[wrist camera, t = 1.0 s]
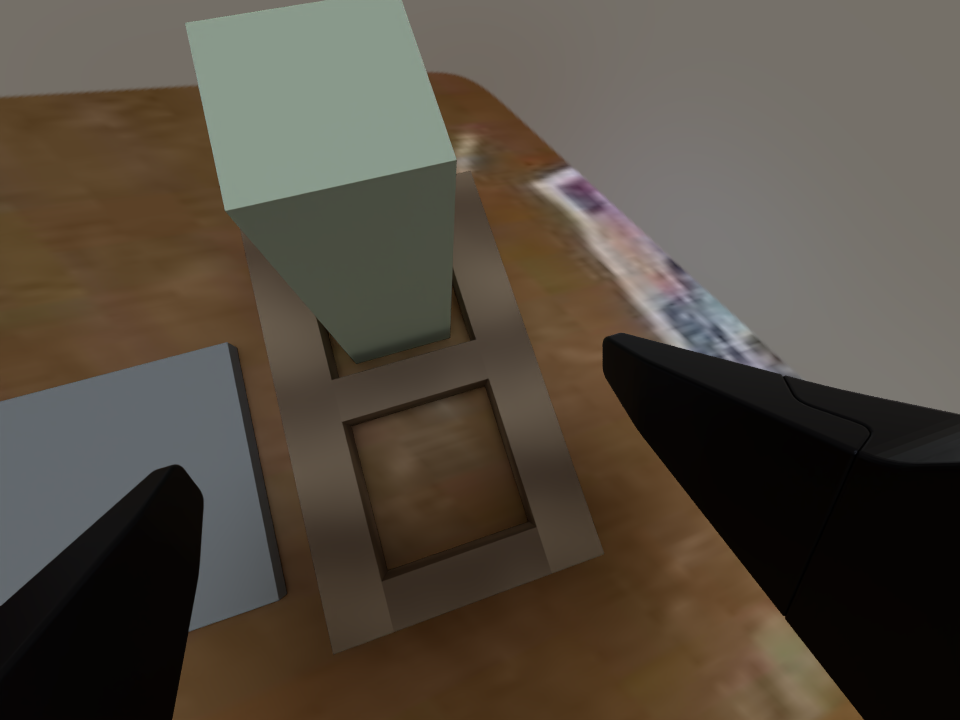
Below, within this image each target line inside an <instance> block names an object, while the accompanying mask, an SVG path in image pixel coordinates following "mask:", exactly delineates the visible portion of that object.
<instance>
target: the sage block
mask: <svg viewBox="0 0 960 720" xmlns="http://www.w3.org/2000/svg"><path fill="white" fill-rule="evenodd" d="M185 24H186V29H187V34H188V39H189V43H190V48H191V52H192V57H193V62H194V66H195V71H196V76H197V81H198V85H199V90H200V95H201V100H202V104H203V109H204V114H205V118H206V123H207V128H208V132H209V137H210V142H211V147H212V151H213V156H214V161H215V165H216V170H217V175H218V179H219V184H220V189H221V193H222V198H223V203H224V208H225V211H226V212H227V214H228V215H229V216H230V217H231V218H232V219H233V221H234V222H235V223H236V224H237V225H238V226H239V228H240V229H241V230H242V231H243V232H244V233H245V235H246V236H247V237H248V238H249V239H250V240H251V242H252V243H253V244H254V245H255V246H256V247H257V249H258V250H259V251H260V252H261V253H262V254H263V256H264V257H265V258H266V259H267V260H268V261H269V263H270V264H271V265H272V266H273V267H274V268H275V270H276V271H277V272H278V273H279V274H280V275H281V277H282V278H283V279H284V280H285V281H286V282H287V284H288V285H289V286H290V287H291V288H292V289H293V291H294V292H295V293H296V294H297V295H298V296H299V298H300V299H301V300H302V301H303V302H304V303H305V305H306V306H307V307H308V308H309V309H310V310H311V312H312V313H313V314H314V315H315V316H316V317H317V319H318V320H319V321H320V322H321V323H322V324H323V326H324V327H325V328H326V329H327V330H328V331H329V333H330V334H331V335H332V336H333V337H334V338H335V340H336V341H337V342H338V343H339V344H340V345H341V347H342V348H343V349H344V350H345V351H346V352H347V354H348V355H349V356H350V357H351V358H352V359H353V361H354V362H355V363H356V364H358V363H361V362H365V361H368V360H372V359H376V358H379V357H383V356H386V355H390V354H394V353H397V352H401V351H404V350H408V349H411V348H415V347H419V346H422V345H426V344H429V343H433V342H436V341H440V340H444V339H447V338H450V322H451V295H452V269H453V242H454V215H455V189H456V162H457V160H456V157H455V154H454V151H453V148H452V145H451V142H450V139H449V136H448V133H447V131H446V128H445V125H444V122H443V119H442V116H441V113H440V110H439V107H438V104H437V102H436V99H435V96H434V93H433V90H432V87H431V84H430V81H429V78H428V75H427V72H426V70H425V67H424V64H423V61H422V58H421V55H420V53H419V49H418V46H417V44H416V41H415V38H414V35H413V32H412V29H411V26H410V23H409V20H408V17H407V14H406V12H405V9H404V6H403V3H402V0H325V1H319V2H313V3H307V4H301V5H294V6H288V7H282V8H276V9H270V10H263V11H257V12H250V13H244V14H238V15H232V16H226V17H219V18H213V19H207V20H201V21H194V22H188V23H185Z"/></svg>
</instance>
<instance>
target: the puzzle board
mask: <svg viewBox="0 0 960 720" xmlns="http://www.w3.org/2000/svg"><path fill="white" fill-rule="evenodd" d="M240 231H241V236H242V240H243V245H244V249H245V254H246V258H247V263H248V268H249V272H250V277H251V281H252V286H253V290H254V295H255V299H256V304H257V309H258V313H259V318H260V322H261V327H262V331H263V336H264V341H265V345H266V350H267V354H268V359H269V363H270V368H271V373H272V377H273V382H274V386H275V391H276V395H277V400H278V405H279V409H280V414H281V418H282V423H283V427H284V432H285V436H286V441H287V446H288V450H289V455H290V459H291V464H292V468H293V473H294V478H295V482H296V487H297V491H298V496H299V500H300V505H301V510H302V514H303V519H304V523H305V528H306V532H307V537H308V542H309V546H310V551H311V555H312V560H313V564H314V569H315V573H316V578H317V583H318V587H319V592H320V596H321V601H322V605H323V610H324V615H325V619H326V624H327V628H328V633H329V637H330V642H331V647H332V651H333V655H334V654H336V653H339V652H342V651H344V650H347V649H350V648H352V647H355V646H358V645H360V644H363V643H366V642H369V641H371V640H374V639H377V638H379V637H382V636H385V635H387V634H390V633H393V632H396V631H398V630H401V629H404V628H406V627H409V626H412V625H414V624H417V623H420V622H423V621H425V620H428V619H431V618H433V617H436V616H439V615H441V614H444V613H447V612H449V611H452V610H455V609H458V608H460V607H463V606H466V605H468V604H471V603H474V602H476V601H479V600H482V599H485V598H487V597H490V596H493V595H495V594H498V593H501V592H503V591H506V590H509V589H512V588H514V587H517V586H520V585H522V584H525V583H528V582H530V581H533V580H536V579H539V578H541V577H544V576H547V575H549V574H552V573H555V572H557V571H560V570H563V569H565V568H568V567H571V566H574V565H576V564H579V563H582V562H584V561H587V560H590V559H592V558H595V557H598V556H601V555H603V554H604V552H603V549H602V546H601V543H600V540H599V537H598V534H597V532H596V529H595V526H594V523H593V520H592V517H591V514H590V511H589V509H588V506H587V503H586V500H585V497H584V494H583V491H582V489H581V486H580V483H579V480H578V477H577V474H576V471H575V469H574V466H573V463H572V460H571V457H570V454H569V451H568V449H567V446H566V443H565V440H564V437H563V434H562V431H561V429H560V426H559V423H558V420H557V417H556V414H555V411H554V409H553V406H552V403H551V400H550V397H549V394H548V391H547V389H546V386H545V383H544V380H543V377H542V374H541V371H540V368H539V366H538V363H537V360H536V357H535V354H534V351H533V348H532V346H531V343H530V340H529V337H528V334H527V331H526V328H525V326H524V323H523V320H522V317H521V314H520V311H519V308H518V306H517V303H516V300H515V297H514V294H513V291H512V288H511V286H510V283H509V280H508V277H507V274H506V271H505V268H504V266H503V263H502V260H501V257H500V254H499V251H498V248H497V246H496V243H495V240H494V237H493V234H492V231H491V228H490V226H489V223H488V220H487V217H486V214H485V211H484V208H483V205H482V203H481V200H480V197H479V194H478V191H477V188H476V185H475V183H474V180H473V177H472V174H471V171H467V172H463V173H459V174H456V189H455V215H454V242H453V269H452V284H453V287H454V291H455V294H456V297H457V300H458V303H459V306H460V309H461V312H462V316H463V319H464V322H465V325H466V328H467V331H468V334H469V337H470V340H471V341H469V342H465V343H462V344H458V345H455V346H451V347H447V348H444V349H440V350H437V351H433V352H430V353H426V354H423V355H419V356H416V357H412V358H409V359H405V360H401V361H398V362H394V363H391V364H387V365H384V366H380V367H377V368H373V369H370V370H366V371H363V372H359V373H355V374H352V375H348V376H345V377H341V378H339V376H338V372H337V368H336V364H335V360H334V356H333V352H332V348H331V344H330V340H329V336H328V332H327V329H326V328H325V327H324V326H323V324H322V323H321V322H320V321H319V320H318V319H317V317H316V316H315V315H314V314H313V313H312V312H311V310H310V309H309V308H308V307H307V306H306V305H305V303H304V302H303V301H302V300H301V299H300V298H299V296H298V295H297V294H296V293H295V292H294V291H293V289H292V288H291V287H290V286H289V285H288V284H287V282H286V281H285V280H284V279H283V278H282V277H281V275H280V274H279V273H278V272H277V271H276V270H275V268H274V267H273V266H272V265H271V264H270V263H269V261H268V260H267V259H266V258H265V257H264V256H263V254H262V253H261V252H260V251H259V250H258V249H257V247H256V246H255V245H254V244H253V243H252V242H251V240H250V239H249V238H248V237H247V236H246V235H245V233H244V232H243V231H242V230H241V229H240ZM483 386H485V387H486V390H487V394H488V397H489V400H490V403H491V406H492V409H493V412H494V415H495V419H496V422H497V425H498V428H499V431H500V434H501V437H502V440H503V443H504V447H505V450H506V453H507V456H508V459H509V462H510V465H511V468H512V472H513V475H514V478H515V481H516V484H517V487H518V490H519V493H520V497H521V500H522V503H523V506H524V509H525V512H526V515H527V518H528V521H529V522H526V523H523V524H520V525H518V526H515V527H512V528H509V529H506V530H503V531H500V532H498V533H495V534H492V535H489V536H486V537H483V538H480V539H478V540H475V541H472V542H469V543H466V544H463V545H460V546H458V547H455V548H452V549H449V550H446V551H443V552H440V553H438V554H435V555H432V556H429V557H426V558H423V559H420V560H418V561H415V562H412V563H409V564H406V565H403V566H400V567H398V568H395V569H392V570H389V571H387V567H386V563H385V559H384V555H383V551H382V547H381V543H380V539H379V535H378V531H377V527H376V523H375V519H374V515H373V511H372V507H371V503H370V499H369V495H368V491H367V487H366V483H365V479H364V476H363V472H362V468H361V464H360V460H359V456H358V452H357V448H356V444H355V440H354V436H353V432H352V428H351V426H352V425H356V424H359V423H362V422H366V421H369V420H372V419H376V418H379V417H382V416H386V415H389V414H392V413H396V412H399V411H402V410H406V409H409V408H412V407H416V406H419V405H422V404H426V403H429V402H433V401H436V400H439V399H443V398H446V397H449V396H453V395H456V394H459V393H463V392H466V391H469V390H473V389H476V388H479V387H483Z"/></svg>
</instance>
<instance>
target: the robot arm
mask: <svg viewBox="0 0 960 720" xmlns="http://www.w3.org/2000/svg"><path fill="white" fill-rule="evenodd" d="M603 372H604V375H605V378H606V379H607V381H608V383H609V384H610V386H611V388H612V389H613V391H614V392H615V394H616V396H617V397H618V399H619V401H620V402H621V404H622V406H623V407H624V409H625V411H626V412H627V414H628V415H629V417H630V419H631V420H632V422H633V423H634V425H635V427H636V428H637V430H638V431H639V432H640V434H641V435H642V436H643V438H644V439H645V440H646V441H647V443H648V444H649V445H650V447H651V448H652V449H653V450H654V452H655V453H656V454H657V455H658V457H659V458H660V459H661V461H662V462H663V463H664V464H665V466H666V467H667V468H668V470H669V471H670V472H671V473H672V475H673V476H674V477H675V478H676V480H677V481H678V482H679V484H680V485H681V486H682V487H683V489H684V490H685V491H686V493H687V494H688V495H689V496H690V498H691V499H692V500H693V501H694V503H695V504H696V505H697V507H698V508H699V509H700V510H701V512H702V513H703V514H704V516H705V517H706V518H707V519H708V521H709V522H710V523H711V524H712V526H713V527H714V528H715V530H716V531H717V532H718V533H719V535H720V536H721V537H722V538H723V540H724V541H725V542H726V544H727V545H728V546H729V547H730V549H731V550H732V551H733V553H734V554H735V555H736V556H737V558H738V559H739V560H740V561H741V563H742V564H743V565H744V567H745V568H746V569H747V570H748V572H749V573H750V574H751V576H752V577H753V578H754V579H755V581H756V582H757V583H758V584H759V586H760V587H761V588H762V590H763V591H764V592H765V593H766V595H767V596H768V597H769V598H770V600H771V601H772V602H773V604H774V605H775V606H776V607H777V609H778V610H779V611H780V613H781V614H782V615H783V616H785V619H786V621H787V622H788V623H789V625H790V626H791V627H792V628H793V630H794V631H795V632H796V633H797V635H798V636H799V637H800V639H801V640H802V641H803V642H804V644H805V645H806V646H807V647H808V649H809V650H810V651H811V653H812V654H813V655H814V656H815V658H816V659H817V660H818V662H819V663H820V664H821V665H822V667H823V668H824V669H825V670H826V672H827V673H828V674H829V676H830V677H831V678H832V679H833V681H834V682H835V683H836V684H837V686H838V687H839V688H840V690H841V691H842V692H843V693H844V695H845V696H846V697H847V699H848V700H849V701H850V702H851V704H852V705H853V706H854V707H855V709H856V710H857V711H858V713H859V714H860V715H861V716H862V718H863V719H864V720H960V414H955V413H951V412H946V411H941V410H937V409H932V408H926V407H922V406H917V405H912V404H907V403H903V402H898V401H893V400H888V399H883V398H878V397H874V396H869V395H864V394H860V393H855V392H851V391H846V390H841V389H837V388H833V387H829V386H824V385H821V384H816V383H813V382H809V381H805V380H801V379H797V378H793V377H790V376H782V375H781V374H778V373H774V372H770V371H766V370H762V369H759V368H755V367H751V366H747V365H743V364H740V363H736V362H732V361H728V360H724V359H720V358H717V357H713V356H709V355H705V354H701V353H698V352H694V351H690V350H686V349H682V348H678V347H675V346H671V345H667V344H663V343H659V342H656V341H652V340H648V339H644V338H640V337H636V336H633V335H629V334H625V333H618V334H614V335H611V336H608V337H606V338H605V339H604V340H603ZM203 511H204V498H203V494H202V492H201V490H200V489H199V487H198V486H197V485H196V484H195V482H194V481H193V480H192V478H191V477H190V476H189V474H188V473H187V472H186V470H185V469H184V468H183V467H182V466H180V465H178V464H173V465H170V466H166V467H163V468H159V469H156V470H154V471H152V472H151V473H150V474H149V475H148V476H147V477H146V478H144V479H143V480H142V481H141V482H140V483H139V484H138V485H137V486H135V487H134V488H133V489H132V490H131V491H130V492H129V493H127V494H126V495H125V496H124V497H123V498H122V499H121V500H120V501H118V502H117V503H116V504H115V505H114V506H113V507H112V508H111V509H109V510H108V511H107V512H106V513H105V514H104V515H103V516H102V517H100V518H99V519H98V520H97V521H96V522H95V523H94V524H92V525H91V526H90V527H89V528H88V529H87V530H86V531H85V532H83V533H82V534H81V535H80V536H79V537H78V538H77V539H76V540H74V541H73V542H72V543H71V544H70V545H69V546H68V547H67V548H65V549H64V550H63V551H62V552H61V553H60V554H59V555H57V556H56V557H55V558H54V559H53V560H52V561H51V562H50V563H48V564H47V565H46V566H45V567H44V568H43V569H42V570H41V571H39V572H38V573H37V574H36V575H35V576H34V577H33V578H32V579H30V580H29V581H28V582H27V583H26V584H25V585H24V586H22V587H21V588H20V589H19V590H18V591H17V592H16V593H15V594H13V595H12V596H11V597H10V598H9V599H8V600H7V601H6V602H4V603H3V604H2V605H1V606H0V720H172V718H173V712H174V707H175V702H176V696H177V691H178V686H179V680H180V675H181V669H182V664H183V659H184V653H185V648H186V643H187V637H188V632H189V627H190V621H191V616H192V610H193V605H194V600H195V594H196V589H197V583H198V577H199V569H200V557H201V542H202V526H203Z"/></svg>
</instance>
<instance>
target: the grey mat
mask: <svg viewBox="0 0 960 720" xmlns="http://www.w3.org/2000/svg"><path fill="white" fill-rule="evenodd" d="M173 464H178V465H180V466H182V467H183V468H184V469H185V470H186V472H187V473H188V474H189V476H190V477H191V478H192V480H193V481H194V482H195V484H196V485H197V486H198V487H199V489H200V490H201V492H202V494H203V498H204V511H203V526H202V542H201V557H200V569H199V577H198V583H197V589H196V594H195V600H194V605H193V610H192V616H191V621H190V627H189V631H192V630H195V629H198V628H201V627H203V626H206V625H209V624H212V623H215V622H218V621H221V620H224V619H226V618H229V617H232V616H235V615H238V614H241V613H244V612H247V611H249V610H252V609H255V608H258V607H261V606H264V605H267V604H270V603H273V602H275V601H278V600H280V599H281V598H282V597H284V596H285V595H286V594H287V591H286V587H285V582H284V577H283V572H282V567H281V562H280V557H279V552H278V547H277V543H276V538H275V533H274V528H273V523H272V518H271V513H270V508H269V503H268V499H267V494H266V489H265V484H264V479H263V474H262V469H261V464H260V459H259V455H258V450H257V445H256V440H255V435H254V430H253V425H252V420H251V415H250V411H249V406H248V401H247V396H246V391H245V386H244V381H243V376H242V371H241V367H240V362H239V357H238V352H237V348H236V347H235V346H233V345H231V344H229V343H228V342H227V343H223V344H219V345H215V346H211V347H207V348H204V349H200V350H196V351H192V352H188V353H185V354H181V355H177V356H173V357H169V358H165V359H162V360H158V361H154V362H150V363H146V364H142V365H139V366H135V367H131V368H127V369H123V370H120V371H116V372H112V373H108V374H104V375H100V376H97V377H93V378H89V379H85V380H81V381H77V382H74V383H70V384H66V385H62V386H58V387H55V388H51V389H47V390H43V391H39V392H35V393H32V394H28V395H24V396H20V397H16V398H12V399H9V400H5V401H1V402H0V606H1V605H2V604H3V603H4V602H6V601H7V600H8V599H9V598H10V597H11V596H12V595H13V594H15V593H16V592H17V591H18V590H19V589H20V588H21V587H22V586H24V585H25V584H26V583H27V582H28V581H29V580H30V579H32V578H33V577H34V576H35V575H36V574H37V573H38V572H39V571H41V570H42V569H43V568H44V567H45V566H46V565H47V564H48V563H50V562H51V561H52V560H53V559H54V558H55V557H56V556H57V555H59V554H60V553H61V552H62V551H63V550H64V549H65V548H67V547H68V546H69V545H70V544H71V543H72V542H73V541H74V540H76V539H77V538H78V537H79V536H80V535H81V534H82V533H83V532H85V531H86V530H87V529H88V528H89V527H90V526H91V525H92V524H94V523H95V522H96V521H97V520H98V519H99V518H100V517H102V516H103V515H104V514H105V513H106V512H107V511H108V510H109V509H111V508H112V507H113V506H114V505H115V504H116V503H117V502H118V501H120V500H121V499H122V498H123V497H124V496H125V495H126V494H127V493H129V492H130V491H131V490H132V489H133V488H134V487H135V486H137V485H138V484H139V483H140V482H141V481H142V480H143V479H144V478H146V477H147V476H148V475H149V474H150V473H151V472H152V471H154V470H156V469H159V468H163V467H166V466H170V465H173Z"/></svg>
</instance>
